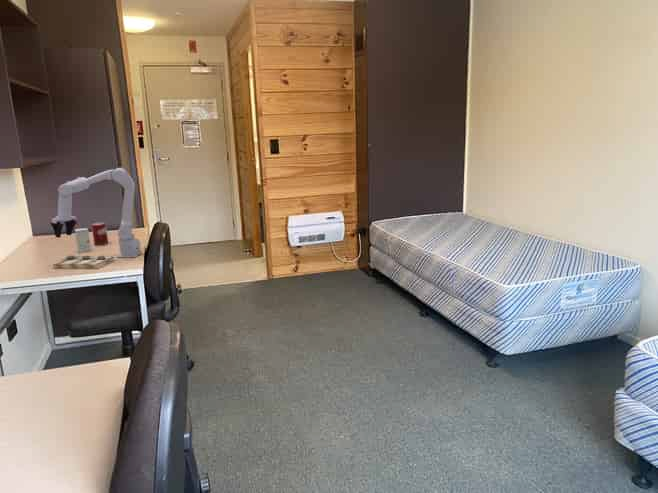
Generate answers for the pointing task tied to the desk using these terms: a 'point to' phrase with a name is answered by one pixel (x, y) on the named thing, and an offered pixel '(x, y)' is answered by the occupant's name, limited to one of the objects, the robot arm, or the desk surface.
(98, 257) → the button
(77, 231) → the skincare box
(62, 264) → the button board
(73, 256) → the button
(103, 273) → the desk surface
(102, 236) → the soda can
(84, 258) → the middle button
